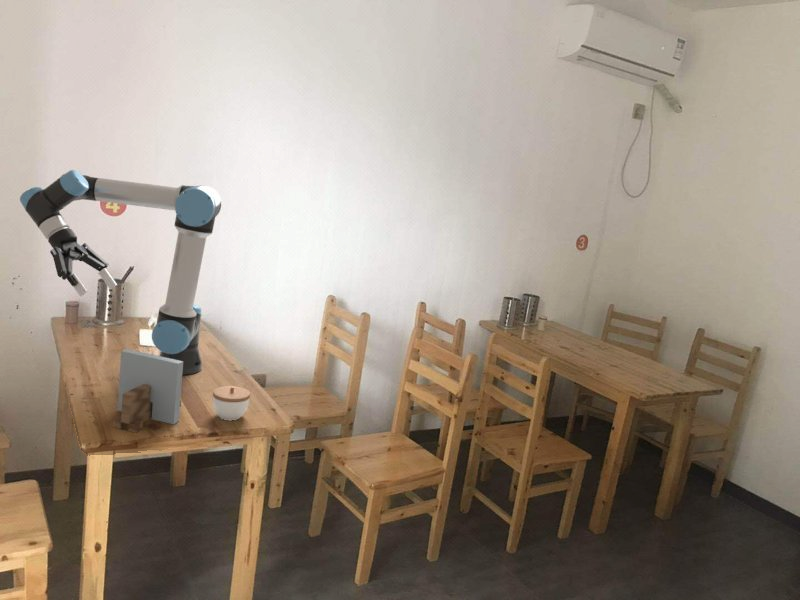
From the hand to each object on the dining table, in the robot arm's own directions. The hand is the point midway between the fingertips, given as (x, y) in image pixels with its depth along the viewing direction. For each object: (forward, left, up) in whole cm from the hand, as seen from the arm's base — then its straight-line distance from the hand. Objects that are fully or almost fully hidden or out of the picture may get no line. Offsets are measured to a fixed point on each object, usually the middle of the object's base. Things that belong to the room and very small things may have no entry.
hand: (99, 290), depth 200 cm
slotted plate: (-10, +30, -30) cm, 44 cm away
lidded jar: (-32, +35, -30) cm, 56 cm away
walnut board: (-10, +30, -30) cm, 44 cm away
